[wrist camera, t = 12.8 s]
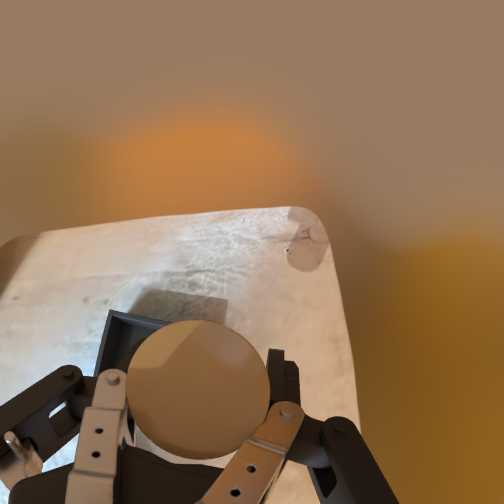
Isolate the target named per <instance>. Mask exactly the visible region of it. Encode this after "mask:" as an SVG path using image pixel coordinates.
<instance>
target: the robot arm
mask: <svg viewBox="0 0 504 504" xmlns="http://www.w3.org/2000/svg"><path fill="white" fill-rule="evenodd" d="M156 331H157V330H154V331H153V333H154V332H156ZM153 333H152V334H153ZM152 334H151V335H152ZM146 339H147V338H146V337H143V338H141V339H140V340H138V341H136V342H135V344H134V345H133V346H132V348H131V349H130V350H129V351H128V354H126V355H125V356H124V358H123V359H122V360H121V362H120V363H119V364H118V366H117V367H116V368H115V369H108V370H105V371H103V372H102V373H100V375H99V376H98V377H91V376H83V374H82V371H81V369H80V368H78V367H77V366H74V365H65V366H62V367H60V368H58V369H57V370H55V371H54V372H52V373H50V374H49V375H47V376H46V377H44V378H43V379H41V380H40V381H38V382H37V383H35V384H34V385H32V386H31V387H29V388H28V389H26V390H24V391H23V392H21V393H20V394H18V395H17V396H15V397H14V398H12V399H11V400H9V401H8V402H6V403H5V404H3V405H2V406H0V479H1V481H2V482H3V483H4V484H5V486H6V487H7V488H8V489H9V490H10V494H9V498H8V504H265V503H266V502H267V500H268V498H269V496H270V494H271V492H272V490H273V488H274V486H275V484H276V482H277V480H278V479H279V477H280V475H281V473H282V471H283V469H284V467H285V465H286V463H287V461H288V460H291V461H294V462H297V463H300V464H303V465H307V468H308V471H309V474H310V476H311V479H312V482H313V485H314V487H315V490H316V493H317V495H318V498H319V501H320V503H321V504H399V502H398V500H397V498H396V497H395V495H394V493H393V492H392V490H391V488H390V486H389V484H388V482H387V481H386V479H385V477H384V475H383V474H382V472H381V470H380V469H379V466H378V465H377V463H376V461H375V459H374V458H373V456H372V454H371V452H370V450H369V449H368V447H367V445H366V443H365V442H364V440H363V438H362V436H361V434H360V433H359V431H358V429H357V427H356V426H355V424H354V423H353V422H352V421H351V420H349V419H347V418H345V417H340V416H335V417H331V418H328V419H327V420H326V421H325V422H323V421H320V420H316V419H313V418H311V417H309V416H308V415H306V414H305V413H304V411H303V409H302V408H301V401H300V383H299V368H298V367H297V365H296V364H295V362H294V361H285V360H284V350H278V349H270V348H269V352H268V358H267V364H266V370H267V373H268V377H269V382H270V403H269V408H268V412H267V414H266V417H265V420H264V422H263V423H262V424H260V425H259V427H258V428H257V430H256V431H255V433H254V434H253V436H252V437H251V438H247V439H246V440H245V441H244V442H243V444H242V445H241V447H240V448H239V449H238V451H237V452H236V454H235V455H234V456H233V458H232V459H231V461H230V462H229V463H228V465H227V466H226V467H225V469H224V468H218V467H212V466H207V465H202V464H173V463H170V462H168V461H166V460H164V459H162V458H160V457H159V456H157V455H155V454H153V453H151V452H149V451H146V450H143V449H140V448H136V429H137V424H136V423H135V421H134V419H133V417H132V415H131V412H130V410H129V406H128V403H127V397H126V377H127V372H128V368H129V365H130V362H131V360H132V358H133V356H134V354H135V352H136V351H137V349H138V348H139V347H140V345H141V344H142V343H143V342H144V341H145V340H146ZM63 402H64V403H65V405H66V406H65V407H64V408H62V409H61V410H60V411H58V412H57V413H56V414H54V415H53V416H52V417H50V418H49V415H50V413H51V411H53V410H54V409H55V408H57V407H58V406H59V405H61V404H62V403H63ZM78 433H79V438H78V443H77V449H76V454H75V460H74V462H73V463H70V464H67V465H64V466H62V467H59V468H56V469H53V470H50V471H47V472H44V473H42V471H41V470H42V468H43V463H44V462H45V461H46V460H48V459H49V458H50V457H51V456H52V455H54V454H55V453H56V452H57V451H58V450H60V449H61V448H62V447H63V446H64V445H65V444H67V443H68V442H69V441H70V440H71V439H72V438H74V437H75V436H76V435H77V434H78Z"/></svg>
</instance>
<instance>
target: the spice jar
mask: <svg viewBox="0 0 504 504" xmlns="http://www.w3.org/2000/svg"><path fill="white" fill-rule="evenodd" d="M126 397H127V403H128V406H129V410H130V412H131V415H132V417H133V419H134V421H135V423H136V424H137V426H138V427H139V429H140V430H141V431H142V433H143V434H144V435H145V436H146V437H147V438H148V439H149V440H150V441H151V442H153V443H154V444H155V445H156V446H158V447H160V448H161V449H163V450H165V451H166V452H169V453H171V454H173V455H176V456H179V457H183V458H188V459H195V460H206V459H214V458H218V457H222V456H225V455H228V454H230V453H233V452H234V451H236V450H238V449H239V448H240V447H241V445H242V444H243V442H244V441H245V440H246V439H247V438H251V437H252V436H253V434H254V433H255V431H256V430H257V428H258V427H259V425H260V424H262V423H263V422H264V420H265V417H266V414H267V412H268V408H269V403H270V382H269V377H268V373H267V370H266V367H265V365H264V363H263V361H262V359H261V357H260V355H259V354H258V352H257V351H256V350H255V348H254V347H253V346H252V345H251V344H250V343H249V342H248V341H247V340H246V339H245V338H244V337H243V336H241V335H240V334H239V333H237V332H236V331H234V330H232V329H230V328H228V327H226V326H224V325H221V324H218V323H215V322H211V321H205V320H186V321H179V322H176V323H172V324H170V325H167V326H165V327H163V328H161V329H159V330H157V331H156V332H154V333H153V334H152V335H150V336H149V337H148V338H147V339H146V340H145V341H144V342H143V343H142V344H141V345H140V347H139V348H138V349H137V351H136V352H135V354H134V356H133V358H132V360H131V362H130V365H129V368H128V372H127V377H126Z"/></svg>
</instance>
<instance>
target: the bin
mask: <svg viewBox="0 0 504 504" xmlns="http://www.w3.org/2000/svg"><path fill="white" fill-rule="evenodd" d="M170 324H172V323H171V322H166V321H161V320H156V319H151V318H146V317H141V316H137V315H132V314H128V313H123V312H119V311H115V310H109V313H108V317H107V320H106V324H105V328H104V332H103V336H102V340H101V344H100V348H99V352H98V357H97V361H96V366H95V371H94V375H93V377H98V376H99V375H100V373H102V372H103V371H105V370H108V369H115V368H116V367H117V366H118V364H119V363H120V362H121V360H122V359H123V358H124V356H125V355H126V354H128V351H129V350H130V349H131V348H132V346H133V345H134V344H135V342H136V341H138V340H140V339H141V338H143V337H146V338H148V337H149V336H150V335H151V334H152V333H153V331H154V330H159V329H161V328H163V327H165V326H167V325H170Z"/></svg>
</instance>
